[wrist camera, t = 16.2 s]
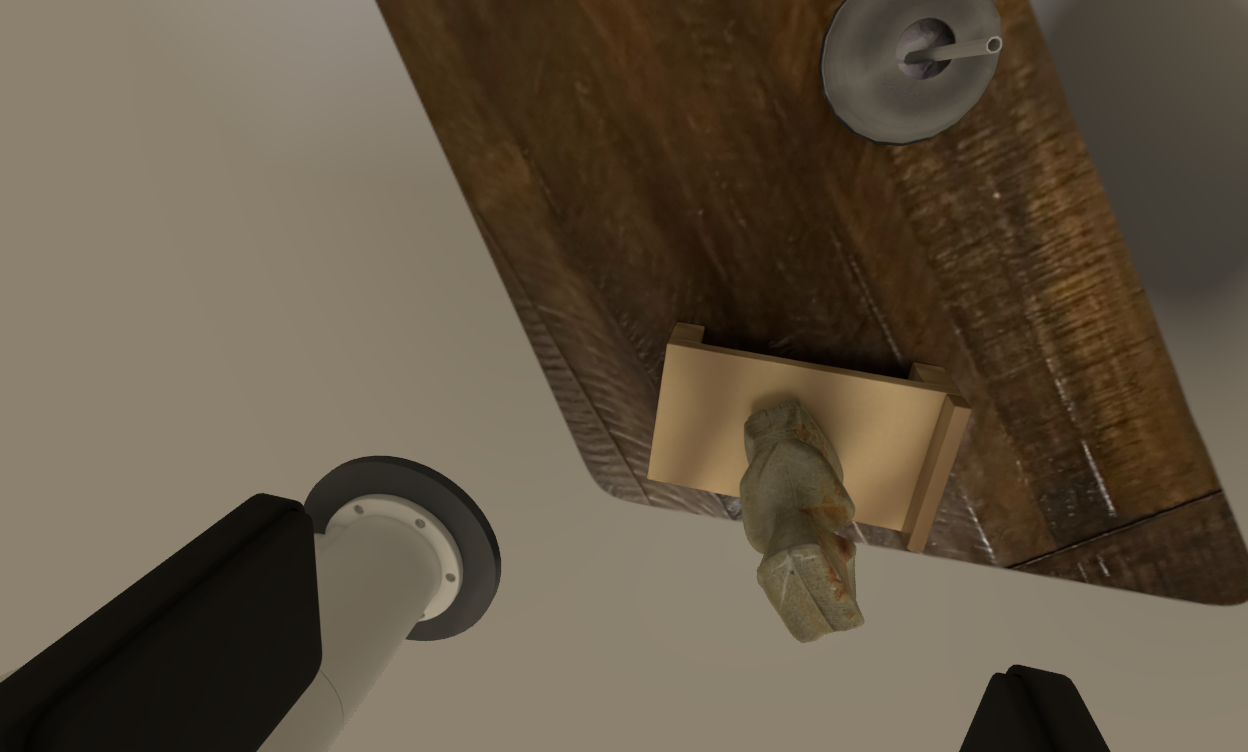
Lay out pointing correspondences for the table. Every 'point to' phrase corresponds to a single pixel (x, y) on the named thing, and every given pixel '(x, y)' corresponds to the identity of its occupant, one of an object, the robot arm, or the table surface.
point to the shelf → (840, 406)
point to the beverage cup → (907, 65)
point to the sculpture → (799, 522)
